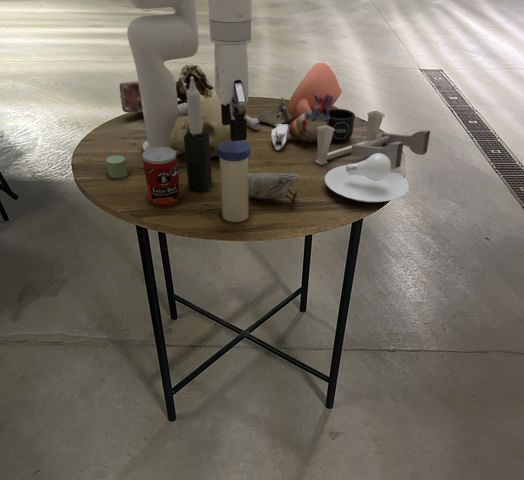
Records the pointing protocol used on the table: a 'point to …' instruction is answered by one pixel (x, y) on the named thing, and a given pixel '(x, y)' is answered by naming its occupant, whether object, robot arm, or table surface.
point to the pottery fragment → (274, 115)
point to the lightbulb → (371, 167)
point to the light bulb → (185, 107)
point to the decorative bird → (270, 185)
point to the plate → (366, 186)
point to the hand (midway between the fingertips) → (233, 131)
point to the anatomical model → (312, 119)
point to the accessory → (306, 145)
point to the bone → (253, 122)
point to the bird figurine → (280, 135)
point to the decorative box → (131, 97)
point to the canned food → (162, 176)
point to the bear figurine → (199, 80)
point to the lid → (233, 150)
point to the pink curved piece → (314, 89)
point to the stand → (117, 166)
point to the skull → (203, 126)
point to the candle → (197, 144)
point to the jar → (234, 189)
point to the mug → (341, 124)
